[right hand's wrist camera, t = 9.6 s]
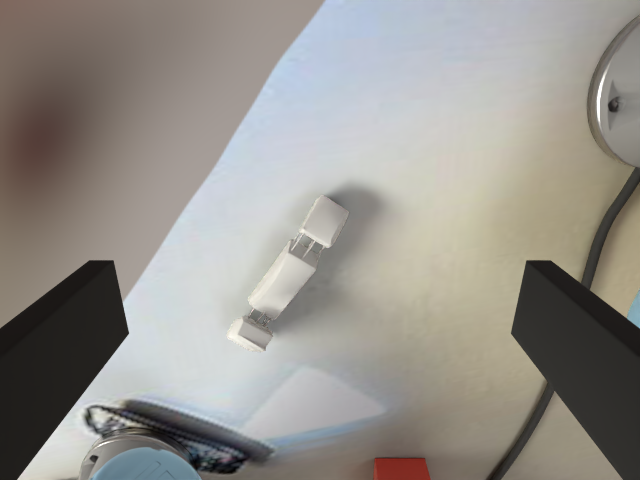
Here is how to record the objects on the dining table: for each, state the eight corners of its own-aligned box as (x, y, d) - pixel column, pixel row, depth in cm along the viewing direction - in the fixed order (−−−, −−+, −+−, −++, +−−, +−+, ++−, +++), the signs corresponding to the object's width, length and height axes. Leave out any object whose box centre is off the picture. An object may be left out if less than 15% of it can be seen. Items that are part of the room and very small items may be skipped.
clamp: (253, 343, 47) (247, 379, 41) (226, 329, 46) (215, 363, 40) (347, 206, 43) (357, 222, 37) (319, 188, 42) (324, 200, 36)
